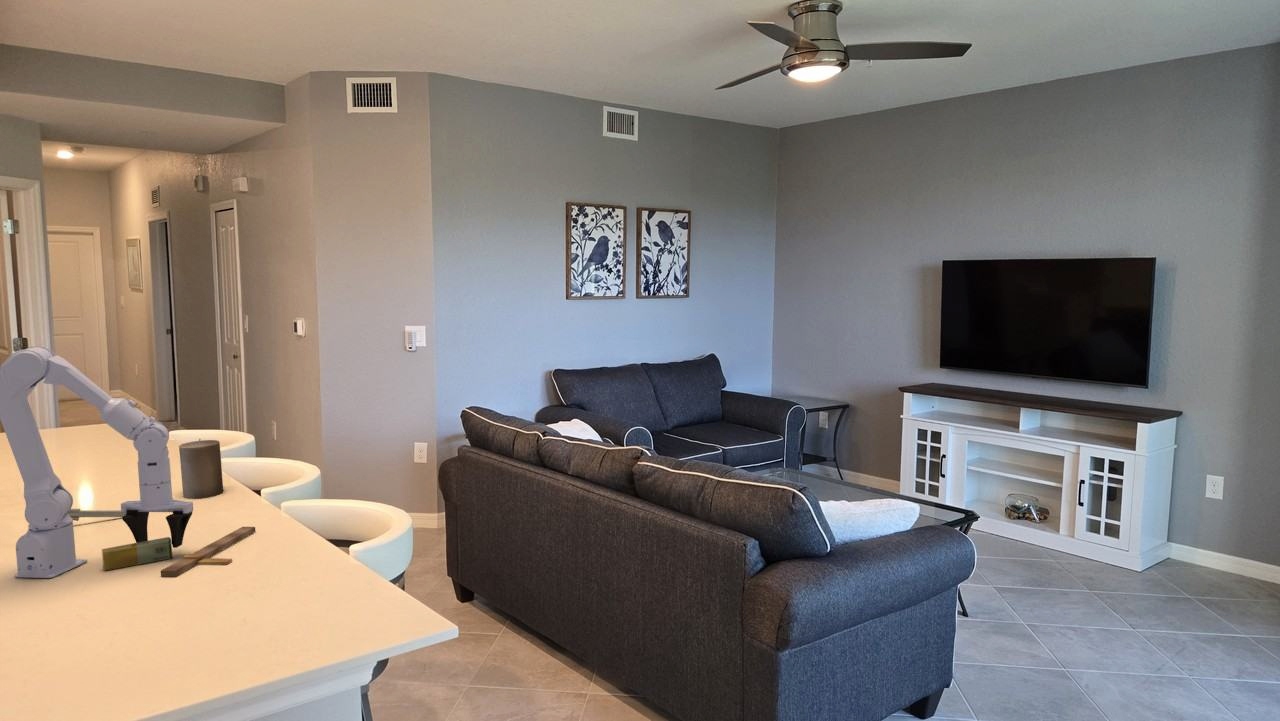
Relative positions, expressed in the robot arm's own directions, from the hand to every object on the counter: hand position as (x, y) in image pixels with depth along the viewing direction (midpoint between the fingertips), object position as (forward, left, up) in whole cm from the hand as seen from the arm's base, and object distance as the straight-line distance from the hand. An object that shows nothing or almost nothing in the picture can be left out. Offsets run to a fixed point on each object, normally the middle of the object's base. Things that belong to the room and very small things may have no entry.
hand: (160, 545), depth 173 cm
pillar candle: (+47, +21, -2) cm, 52 cm away
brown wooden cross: (+2, -13, -2) cm, 13 cm away
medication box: (-5, +1, -2) cm, 6 cm away
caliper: (+21, +31, -2) cm, 38 cm away
